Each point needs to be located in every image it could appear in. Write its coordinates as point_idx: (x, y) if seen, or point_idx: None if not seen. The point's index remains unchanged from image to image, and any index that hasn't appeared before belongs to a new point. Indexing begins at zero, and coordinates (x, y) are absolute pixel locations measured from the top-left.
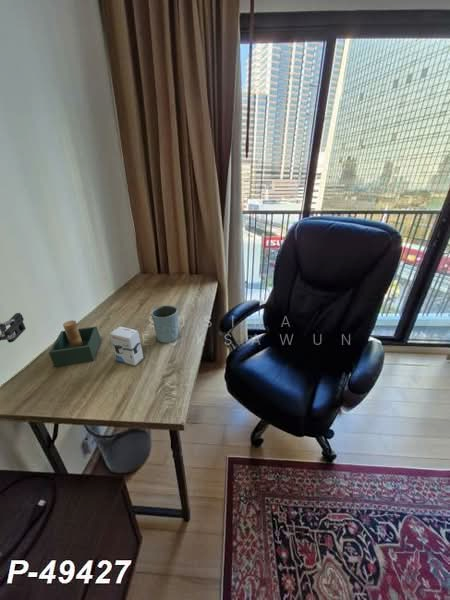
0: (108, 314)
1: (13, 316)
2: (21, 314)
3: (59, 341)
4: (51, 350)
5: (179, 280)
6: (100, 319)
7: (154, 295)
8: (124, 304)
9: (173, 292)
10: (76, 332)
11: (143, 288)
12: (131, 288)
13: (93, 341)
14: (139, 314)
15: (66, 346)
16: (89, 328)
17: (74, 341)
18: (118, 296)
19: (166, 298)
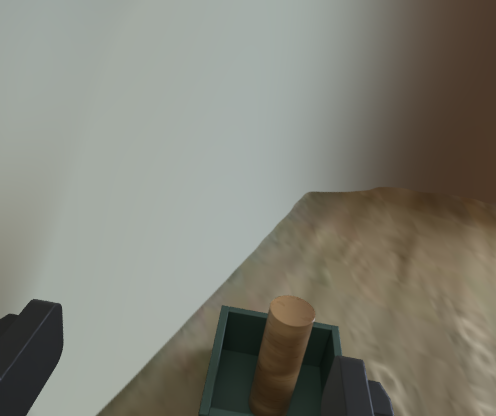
0: (316, 263)
1: (352, 412)
2: (380, 384)
3: (220, 353)
4: (207, 404)
5: (473, 206)
6: (297, 275)
7: (426, 236)
8: (350, 240)
9: (480, 243)
10: (303, 352)
11: (382, 202)
12: (348, 192)
13: None
14: (414, 296)
15: (221, 363)
16: (315, 327)
17: (282, 382)
18: (322, 207)
19: (470, 259)
